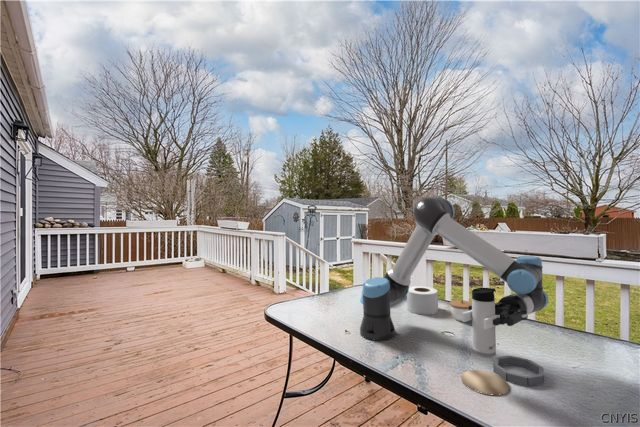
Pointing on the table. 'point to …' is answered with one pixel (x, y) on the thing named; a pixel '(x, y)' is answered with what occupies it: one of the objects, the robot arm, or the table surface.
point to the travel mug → (481, 310)
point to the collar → (518, 378)
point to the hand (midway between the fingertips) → (473, 320)
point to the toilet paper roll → (422, 300)
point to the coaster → (485, 382)
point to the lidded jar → (459, 308)
